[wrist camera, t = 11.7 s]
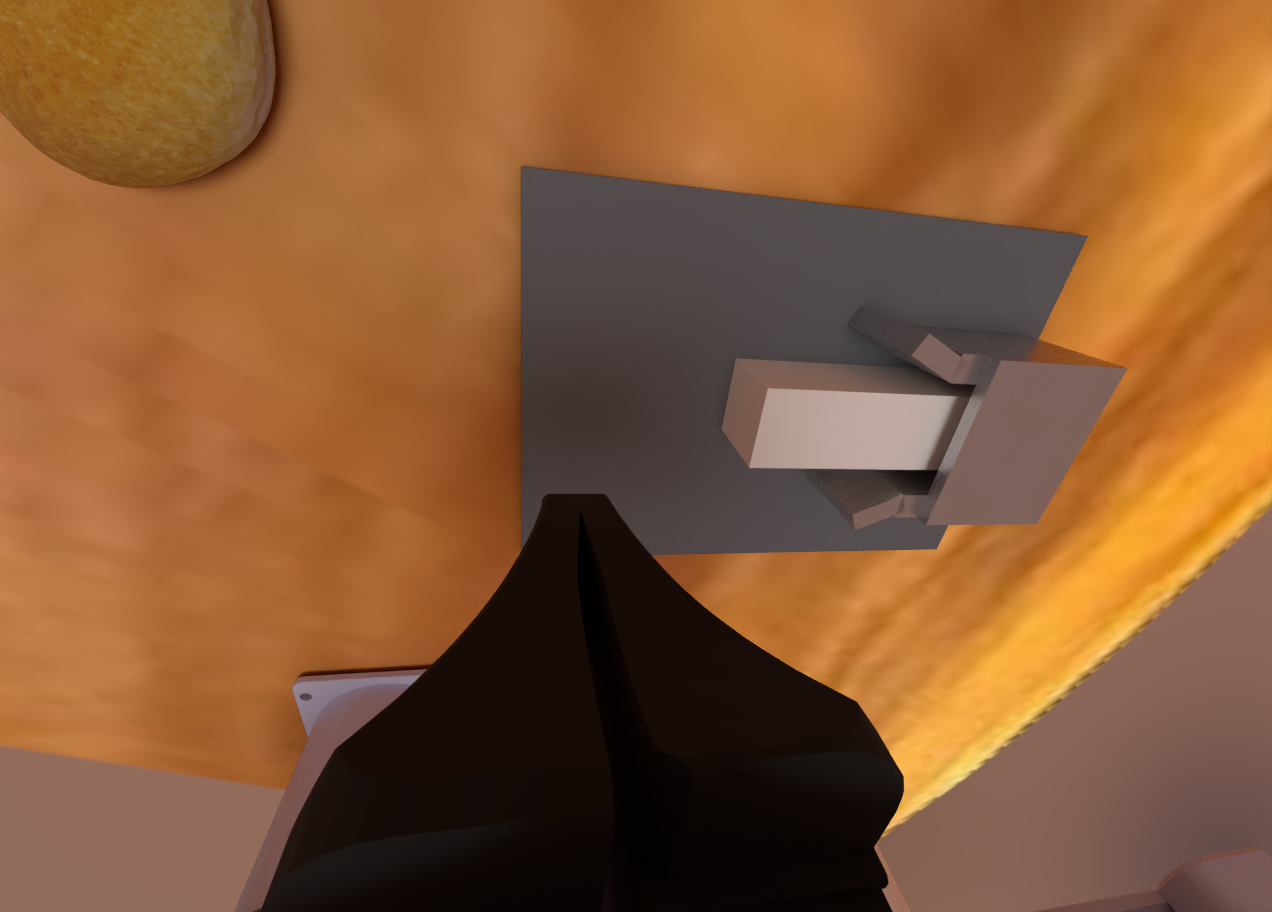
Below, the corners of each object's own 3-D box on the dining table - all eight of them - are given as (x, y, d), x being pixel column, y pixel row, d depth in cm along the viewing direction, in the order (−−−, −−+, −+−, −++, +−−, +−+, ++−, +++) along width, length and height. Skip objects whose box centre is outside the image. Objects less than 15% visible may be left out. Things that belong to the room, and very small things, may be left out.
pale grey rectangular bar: (721, 429, 21) (749, 467, 18) (735, 358, 19) (768, 388, 16) (953, 435, 23) (1010, 470, 20) (981, 371, 21) (1046, 400, 18)
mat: (931, 544, 26) (936, 549, 26) (522, 551, 22) (522, 557, 22) (1078, 235, 19) (1088, 235, 19) (521, 166, 15) (521, 166, 15)
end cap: (952, 479, 24) (1029, 535, 20) (801, 477, 22) (853, 538, 19) (1026, 319, 20) (1137, 351, 17) (853, 305, 19) (930, 336, 15)
